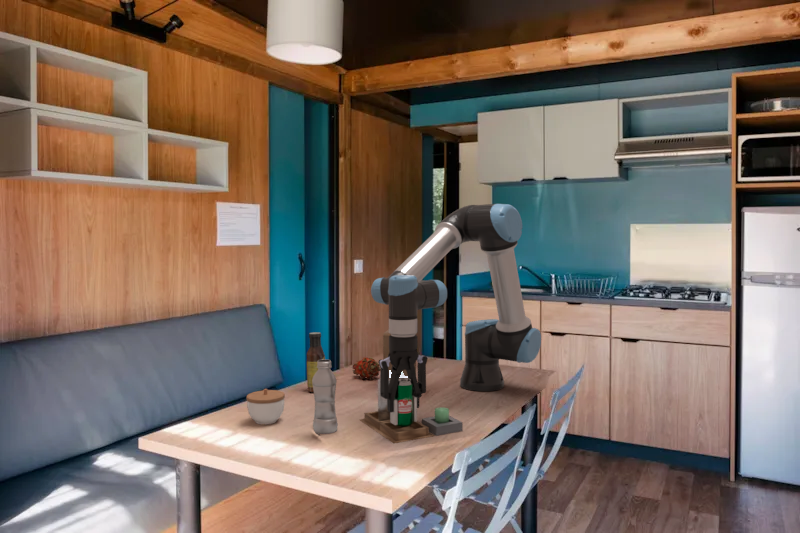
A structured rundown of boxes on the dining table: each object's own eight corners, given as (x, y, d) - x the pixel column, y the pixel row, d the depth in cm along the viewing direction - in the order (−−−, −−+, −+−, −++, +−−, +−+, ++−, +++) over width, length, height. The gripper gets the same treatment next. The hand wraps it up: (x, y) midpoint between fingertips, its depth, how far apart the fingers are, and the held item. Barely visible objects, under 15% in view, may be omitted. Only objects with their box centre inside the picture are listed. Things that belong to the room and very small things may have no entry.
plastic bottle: (327, 440, 160) (326, 364, 159) (307, 435, 164) (306, 361, 163) (342, 433, 166) (341, 359, 165) (323, 429, 169) (322, 357, 168)
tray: (396, 417, 179) (396, 406, 179) (434, 440, 160) (434, 428, 159) (358, 423, 174) (358, 412, 173) (393, 448, 154) (393, 435, 154)
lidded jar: (292, 417, 180) (291, 385, 179) (272, 428, 170) (272, 395, 169) (260, 414, 184) (259, 383, 183) (239, 425, 173) (238, 392, 173)
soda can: (396, 428, 159) (395, 382, 158) (392, 422, 164) (391, 377, 163) (415, 426, 160) (414, 381, 159) (410, 421, 165) (410, 376, 164)
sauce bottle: (327, 392, 208) (326, 333, 207) (309, 394, 206) (308, 335, 204) (323, 387, 214) (322, 331, 213) (305, 389, 212) (304, 332, 211)
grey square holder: (446, 426, 171) (446, 414, 170) (462, 435, 163) (462, 422, 163) (421, 431, 167) (421, 418, 167) (436, 440, 160) (436, 426, 160)
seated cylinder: (391, 418, 174) (390, 376, 174) (399, 423, 170) (398, 380, 169) (375, 421, 172) (374, 378, 171) (383, 426, 168) (382, 382, 167)
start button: (444, 418, 168) (444, 406, 167) (451, 422, 164) (451, 410, 164) (432, 420, 166) (432, 408, 166) (439, 424, 162) (439, 412, 162)
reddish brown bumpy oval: (379, 385, 223) (354, 385, 230) (389, 368, 228) (364, 368, 235) (368, 369, 219) (343, 369, 226) (378, 351, 224) (353, 353, 231)
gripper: (426, 329, 168) (426, 413, 169) (365, 335, 160) (366, 423, 161) (440, 333, 161) (440, 420, 163) (377, 339, 153) (378, 431, 154)
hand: (403, 421), depth 162 cm, fingers closed on soda can, 5 cm apart
